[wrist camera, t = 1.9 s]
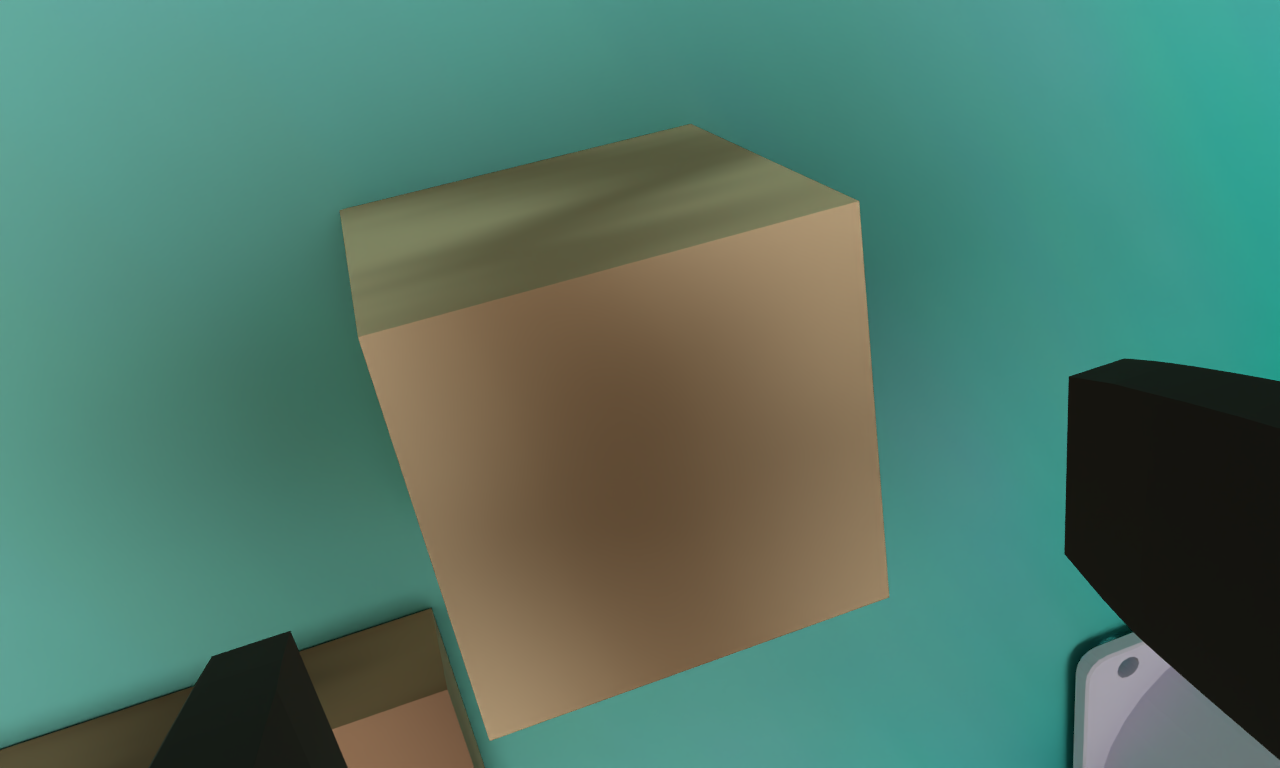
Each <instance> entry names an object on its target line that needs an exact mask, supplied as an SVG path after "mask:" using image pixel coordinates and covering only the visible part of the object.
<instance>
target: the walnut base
mask: <svg viewBox="0 0 1280 768" xmlns="http://www.w3.org/2000/svg"><path fill="white" fill-rule="evenodd" d="M299 653H300V655H301V657H302V660H303V662H304V665H305V667H306V669H307V672H308V674H309V676H310V679H311V681H312V684H313V686H314V688H315V691H316V693H317V695H318V698H319V700H320V703H321V705H322V707H323V710H324V712H325V714H326V717H327V719H328V722H329V724H330V726H331V729H332V731H333V733H334V736H335V738H336V741H337V743H338V745H339V748H340V750H341V752H342V755H343V757H344V760H345V762H346V764H347V767H348V768H485V767H484V764H483V761H482V758H481V755H480V752H479V749H478V746H477V743H476V740H475V737H474V734H473V731H472V728H471V725H470V722H469V719H468V716H467V713H466V710H465V707H464V704H463V701H462V698H461V695H460V692H459V689H458V686H457V683H456V680H455V677H454V674H453V671H452V668H451V665H450V662H449V659H448V656H447V653H446V650H445V647H444V644H443V641H442V638H441V635H440V632H439V629H438V626H437V623H436V620H435V617H434V614H433V611H432V608H431V609H428V610H424V611H421V612H418V613H415V614H412V615H409V616H406V617H403V618H400V619H397V620H394V621H391V622H388V623H385V624H382V625H379V626H376V627H373V628H370V629H367V630H364V631H361V632H358V633H355V634H352V635H349V636H346V637H342V638H339V639H336V640H333V641H330V642H327V643H324V644H321V645H318V646H315V647H312V648H309V649H306V650H303V651H300V652H299ZM192 689H193V687H191V688H188V689H185V690H181V691H178V692H175V693H172V694H169V695H166V696H163V697H160V698H157V699H154V700H151V701H148V702H145V703H142V704H139V705H136V706H133V707H130V708H127V709H124V710H121V711H118V712H115V713H112V714H109V715H106V716H102V717H99V718H96V719H93V720H90V721H87V722H84V723H81V724H78V725H75V726H72V727H69V728H66V729H63V730H60V731H57V732H54V733H51V734H48V735H45V736H42V737H39V738H36V739H33V740H30V741H27V742H24V743H20V744H17V745H14V746H11V747H8V748H5V749H2V750H0V768H148V767H149V765H150V763H151V762H152V760H153V758H154V756H155V755H156V753H157V751H158V749H159V747H160V746H161V744H162V742H163V740H164V738H165V737H166V735H167V733H168V731H169V730H170V728H171V726H172V724H173V722H174V721H175V719H176V717H177V715H178V714H179V712H180V710H181V708H182V706H183V705H184V703H185V701H186V699H187V698H188V696H189V694H190V692H191V691H192Z"/></svg>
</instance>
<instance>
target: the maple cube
mask: <svg viewBox="0 0 1280 768" xmlns="http://www.w3.org/2000/svg"><path fill="white" fill-rule="evenodd" d="M340 217H341V224H342V230H343V237H344V244H345V251H346V258H347V265H348V272H349V279H350V286H351V293H352V300H353V306H354V313H355V320H356V327H357V334H358V339H359V342H360V345H361V348H362V351H363V354H364V357H365V360H366V363H367V366H368V370H369V373H370V376H371V379H372V382H373V385H374V388H375V391H376V394H377V397H378V400H379V403H380V406H381V409H382V412H383V416H384V419H385V422H386V425H387V428H388V431H389V434H390V437H391V440H392V443H393V446H394V449H395V452H396V455H397V458H398V461H399V465H400V468H401V471H402V474H403V477H404V480H405V483H406V486H407V489H408V492H409V495H410V498H411V501H412V504H413V507H414V510H415V514H416V517H417V520H418V523H419V526H420V529H421V532H422V535H423V538H424V541H425V544H426V547H427V550H428V553H429V556H430V560H431V563H432V566H433V569H434V572H435V575H436V578H437V581H438V584H439V587H440V590H441V593H442V596H443V599H444V602H445V605H446V609H447V612H448V615H449V618H450V621H451V624H452V627H453V630H454V633H455V636H456V639H457V642H458V645H459V648H460V651H461V654H462V658H463V661H464V664H465V667H466V670H467V673H468V676H469V679H470V682H471V685H472V688H473V691H474V694H475V697H476V700H477V704H478V707H479V710H480V713H481V716H482V719H483V722H484V725H485V728H486V731H487V734H488V737H489V740H490V741H491V740H494V739H497V738H499V737H502V736H505V735H508V734H510V733H513V732H516V731H519V730H522V729H524V728H527V727H530V726H533V725H535V724H538V723H541V722H544V721H547V720H549V719H552V718H555V717H558V716H560V715H563V714H566V713H569V712H572V711H574V710H577V709H580V708H583V707H585V706H588V705H591V704H594V703H597V702H599V701H602V700H605V699H608V698H611V697H613V696H616V695H619V694H622V693H624V692H627V691H630V690H633V689H636V688H638V687H641V686H644V685H647V684H649V683H652V682H655V681H658V680H661V679H663V678H666V677H669V676H672V675H674V674H677V673H680V672H683V671H686V670H688V669H691V668H694V667H697V666H699V665H702V664H705V663H708V662H711V661H713V660H716V659H719V658H722V657H724V656H727V655H730V654H733V653H736V652H738V651H741V650H744V649H747V648H749V647H752V646H755V645H758V644H761V643H763V642H766V641H769V640H772V639H775V638H777V637H780V636H783V635H786V634H788V633H791V632H794V631H797V630H800V629H802V628H805V627H808V626H811V625H813V624H816V623H819V622H822V621H825V620H827V619H830V618H833V617H836V616H838V615H841V614H844V613H847V612H850V611H852V610H855V609H858V608H861V607H863V606H866V605H869V604H872V603H875V602H877V601H880V600H883V599H886V598H888V597H889V588H888V575H887V561H886V548H885V535H884V522H883V509H882V496H881V483H880V470H879V456H878V443H877V430H876V417H875V404H874V391H873V378H872V365H871V351H870V338H869V325H868V312H867V299H866V286H865V273H864V260H863V246H862V233H861V220H860V207H859V201H858V200H856V199H853V198H851V197H849V196H847V195H845V194H842V193H840V192H838V191H836V190H834V189H832V188H829V187H827V186H825V185H823V184H821V183H819V182H816V181H814V180H812V179H810V178H808V177H805V176H803V175H801V174H799V173H797V172H795V171H792V170H790V169H788V168H786V167H784V166H782V165H779V164H777V163H775V162H773V161H771V160H768V159H766V158H764V157H762V156H760V155H758V154H755V153H753V152H751V151H749V150H747V149H745V148H742V147H740V146H738V145H736V144H734V143H731V142H729V141H727V140H725V139H723V138H721V137H718V136H716V135H714V134H712V133H710V132H708V131H705V130H703V129H701V128H699V127H697V126H694V125H692V124H688V125H684V126H680V127H676V128H672V129H667V130H663V131H659V132H655V133H651V134H647V135H643V136H639V137H635V138H631V139H627V140H623V141H619V142H615V143H611V144H606V145H602V146H598V147H594V148H590V149H586V150H582V151H578V152H574V153H570V154H566V155H562V156H558V157H554V158H550V159H545V160H541V161H537V162H533V163H529V164H525V165H521V166H517V167H513V168H509V169H505V170H501V171H497V172H493V173H489V174H484V175H480V176H476V177H472V178H468V179H464V180H460V181H456V182H452V183H448V184H444V185H440V186H436V187H432V188H428V189H423V190H419V191H415V192H411V193H407V194H403V195H399V196H395V197H391V198H387V199H383V200H379V201H375V202H371V203H367V204H362V205H358V206H354V207H350V208H346V209H342V210H340Z"/></svg>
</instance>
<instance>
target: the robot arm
mask: <svg viewBox="0 0 1280 768" xmlns="http://www.w3.org/2000/svg"><path fill="white" fill-rule="evenodd" d="M1065 555H1066V556H1067V558H1068V559H1069V560H1070V561H1071V562H1072V563H1073V565H1074V566H1075V567H1076V568H1077V569H1078V570H1079V572H1080V573H1081V574H1082V575H1083V576H1084V578H1085V579H1086V580H1087V581H1088V582H1089V583H1090V585H1091V586H1092V587H1093V588H1094V589H1095V590H1096V592H1097V593H1098V594H1099V595H1100V596H1101V598H1102V599H1103V600H1104V601H1105V602H1106V603H1107V604H1108V605H1109V606H1110V607H1111V608H1112V610H1113V611H1114V612H1115V613H1116V614H1117V615H1118V616H1119V617H1120V618H1121V619H1122V620H1123V621H1124V623H1125V624H1126V625H1127V626H1128V627H1129V628H1130V629H1131V630H1132V631H1133V633H1130V634H1127V635H1125V636H1122V637H1120V638H1117V639H1115V640H1112V641H1109V642H1107V643H1104V644H1102V645H1099V646H1097V647H1094V648H1093V649H1091V650H1089V651H1088V652H1087V653H1086V654H1085V655H1083V656H1082V658H1081V659H1080V661H1079V663H1078V665H1077V670H1076V686H1075V720H1074V754H1073V768H1280V381H1275V380H1270V379H1264V378H1259V377H1253V376H1248V375H1242V374H1236V373H1231V372H1225V371H1219V370H1212V369H1206V368H1200V367H1194V366H1187V365H1180V364H1173V363H1165V362H1157V361H1147V360H1136V359H1121V360H1118V361H1115V362H1112V363H1109V364H1106V365H1103V366H1100V367H1097V368H1094V369H1091V370H1088V371H1085V372H1082V373H1079V374H1075V375H1072V376H1069V391H1068V432H1067V474H1066V515H1065ZM148 768H348V767H347V764H346V762H345V760H344V757H343V755H342V752H341V750H340V748H339V745H338V743H337V741H336V738H335V736H334V733H333V731H332V729H331V726H330V724H329V722H328V719H327V717H326V714H325V712H324V710H323V707H322V705H321V703H320V700H319V698H318V695H317V693H316V691H315V688H314V686H313V684H312V681H311V679H310V676H309V674H308V672H307V669H306V667H305V665H304V662H303V660H302V657H301V655H300V653H299V650H298V648H297V646H296V643H295V641H294V638H293V636H292V634H291V631H288V632H285V633H282V634H279V635H276V636H273V637H270V638H267V639H264V640H261V641H258V642H255V643H252V644H249V645H246V646H243V647H239V648H236V649H233V650H230V651H227V652H224V653H221V654H218V655H215V656H212V657H211V659H210V661H209V662H208V664H207V666H206V667H205V669H204V671H203V672H202V674H201V676H200V677H199V679H198V681H197V682H196V684H195V686H194V687H193V689H192V691H191V692H190V694H189V696H188V698H187V699H186V701H185V703H184V705H183V706H182V708H181V710H180V712H179V714H178V715H177V717H176V719H175V721H174V722H173V724H172V726H171V728H170V730H169V731H168V733H167V735H166V737H165V738H164V740H163V742H162V744H161V746H160V747H159V749H158V751H157V753H156V755H155V756H154V758H153V760H152V762H151V763H150V765H149V767H148Z"/></svg>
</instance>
